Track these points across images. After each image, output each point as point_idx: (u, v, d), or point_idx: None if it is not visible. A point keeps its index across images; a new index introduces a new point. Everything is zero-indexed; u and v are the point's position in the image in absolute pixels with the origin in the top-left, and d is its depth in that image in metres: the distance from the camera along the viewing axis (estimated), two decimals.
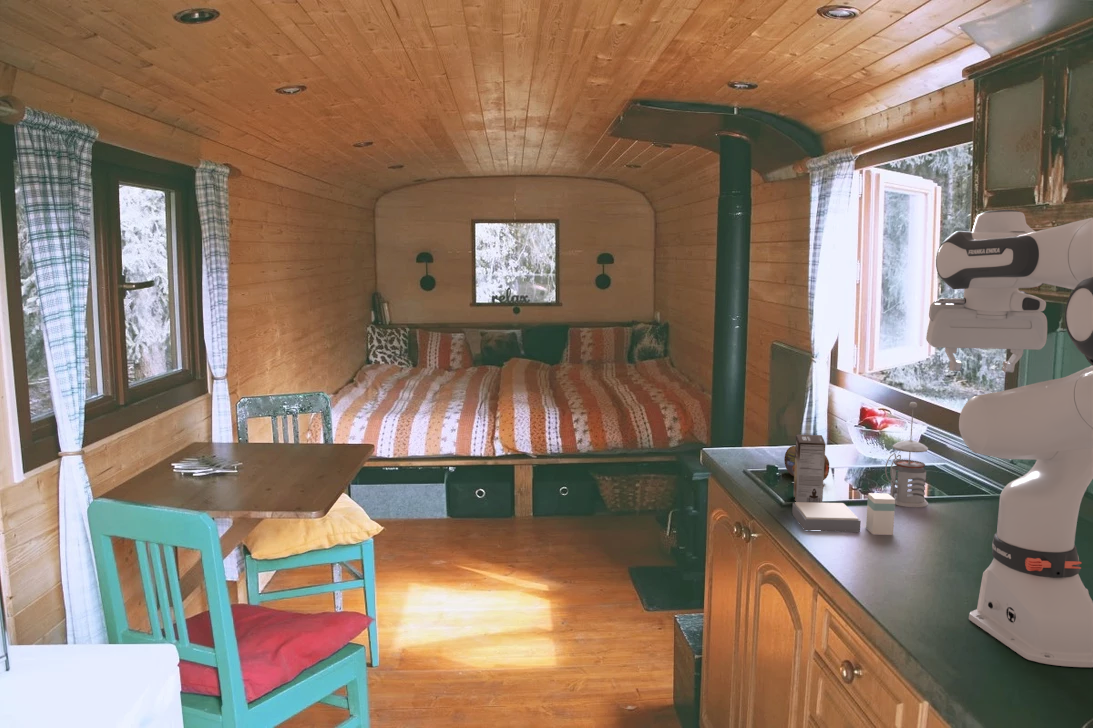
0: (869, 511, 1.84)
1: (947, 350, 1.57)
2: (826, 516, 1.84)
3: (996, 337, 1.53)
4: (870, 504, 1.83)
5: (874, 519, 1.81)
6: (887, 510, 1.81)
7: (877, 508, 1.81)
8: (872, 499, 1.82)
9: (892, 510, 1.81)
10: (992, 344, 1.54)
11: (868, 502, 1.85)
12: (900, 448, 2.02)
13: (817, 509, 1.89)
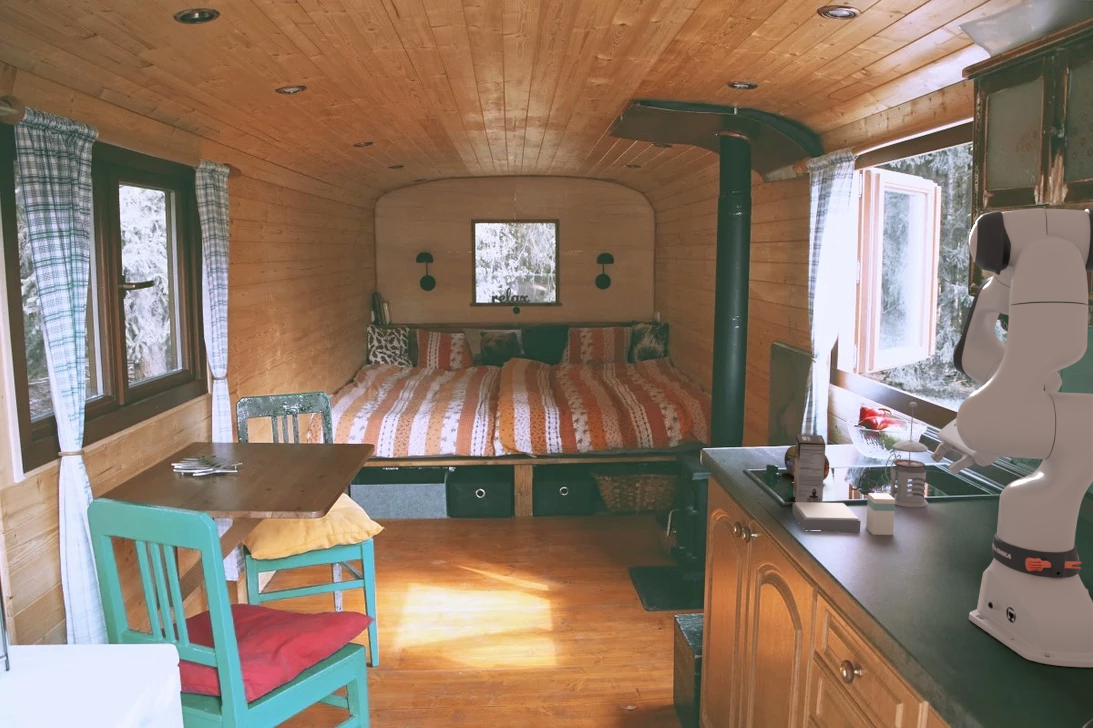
0: (869, 511, 1.84)
1: None
2: (826, 516, 1.84)
3: None
4: (870, 504, 1.83)
5: (874, 519, 1.81)
6: (887, 510, 1.81)
7: (877, 508, 1.81)
8: (872, 499, 1.82)
9: (892, 510, 1.81)
10: (957, 443, 1.79)
11: (868, 502, 1.85)
12: (900, 448, 2.02)
13: (817, 509, 1.89)
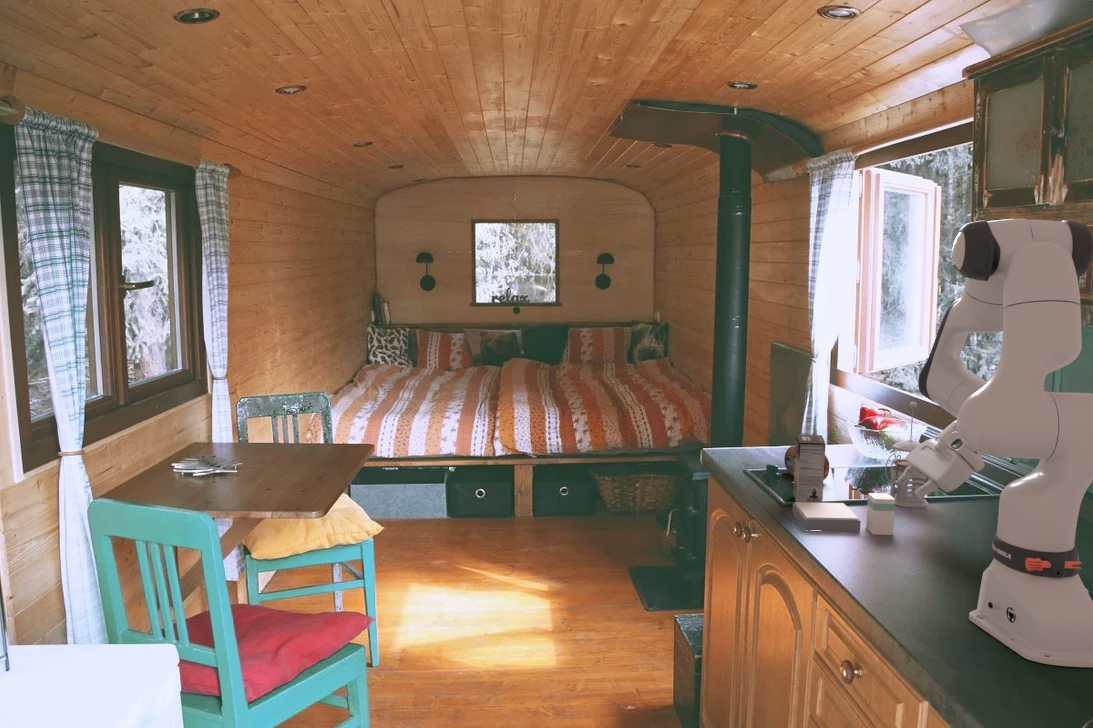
0: (869, 511, 1.84)
1: None
2: (826, 516, 1.84)
3: (929, 463, 1.80)
4: (870, 504, 1.83)
5: (874, 519, 1.81)
6: (887, 510, 1.81)
7: (877, 508, 1.81)
8: (872, 499, 1.82)
9: (892, 510, 1.81)
10: (923, 467, 1.81)
11: (868, 502, 1.85)
12: (900, 448, 2.02)
13: (817, 509, 1.89)
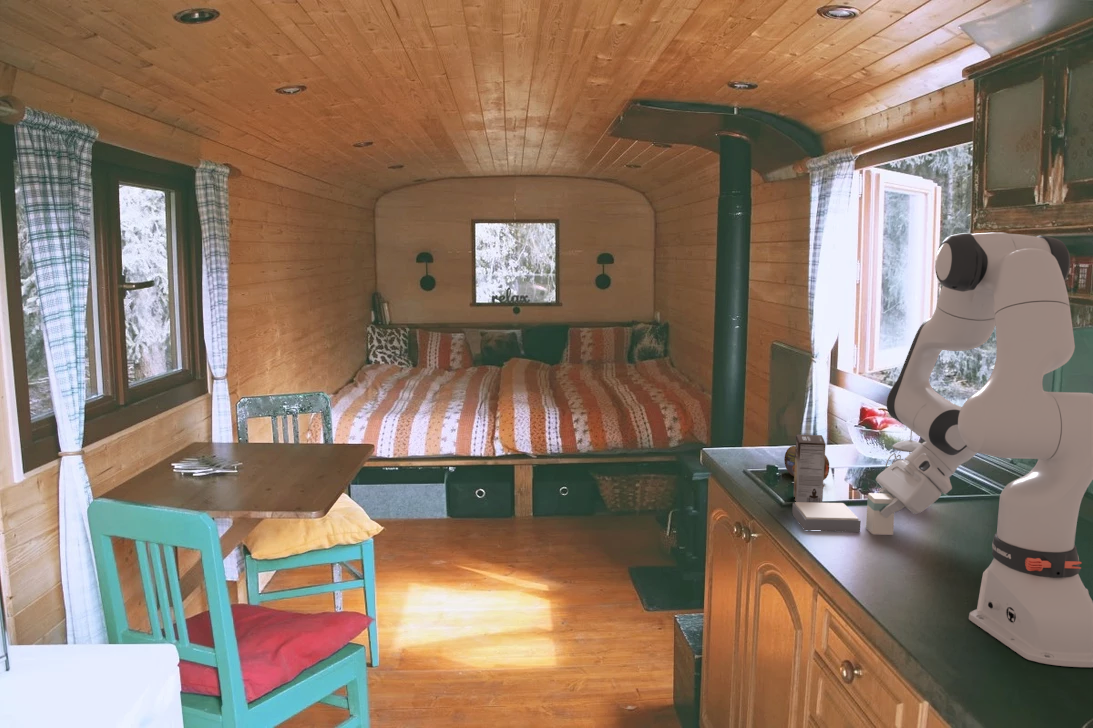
0: (869, 511, 1.84)
1: None
2: (826, 516, 1.84)
3: (898, 485, 1.81)
4: (870, 504, 1.83)
5: (874, 519, 1.81)
6: None
7: (877, 508, 1.81)
8: (872, 499, 1.82)
9: None
10: (892, 488, 1.82)
11: (868, 502, 1.85)
12: (900, 448, 2.02)
13: (817, 509, 1.89)
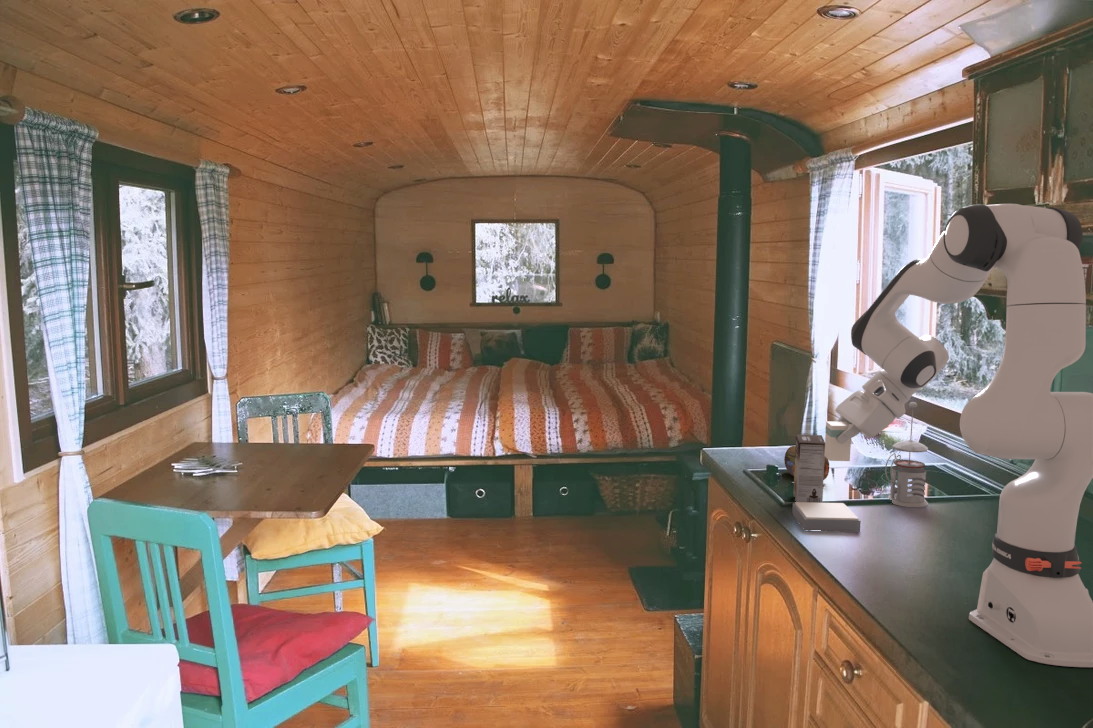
0: (827, 438, 1.87)
1: None
2: (826, 516, 1.84)
3: (854, 412, 1.84)
4: (828, 431, 1.86)
5: (831, 446, 1.84)
6: None
7: (834, 435, 1.84)
8: (829, 426, 1.85)
9: None
10: (849, 416, 1.85)
11: (826, 430, 1.88)
12: (900, 448, 2.02)
13: (817, 509, 1.89)
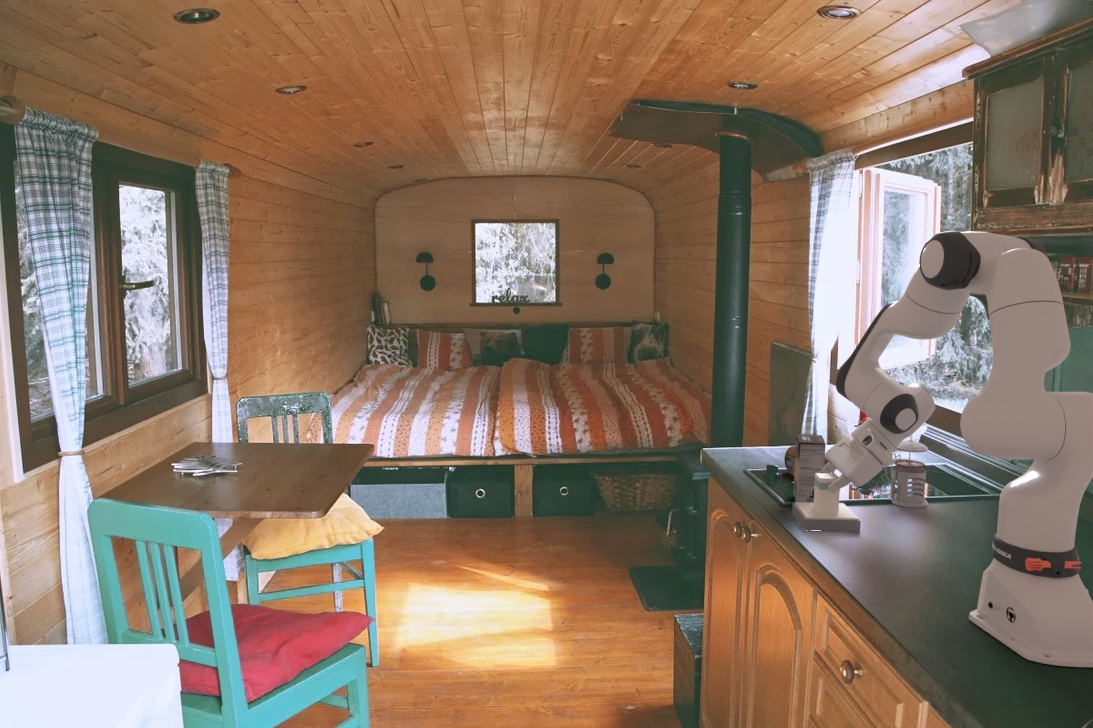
0: (816, 490, 1.89)
1: None
2: (826, 516, 1.84)
3: (843, 460, 1.86)
4: (816, 483, 1.88)
5: (820, 498, 1.86)
6: None
7: (823, 487, 1.86)
8: (818, 478, 1.87)
9: None
10: (838, 463, 1.87)
11: (815, 482, 1.90)
12: (900, 448, 2.02)
13: None
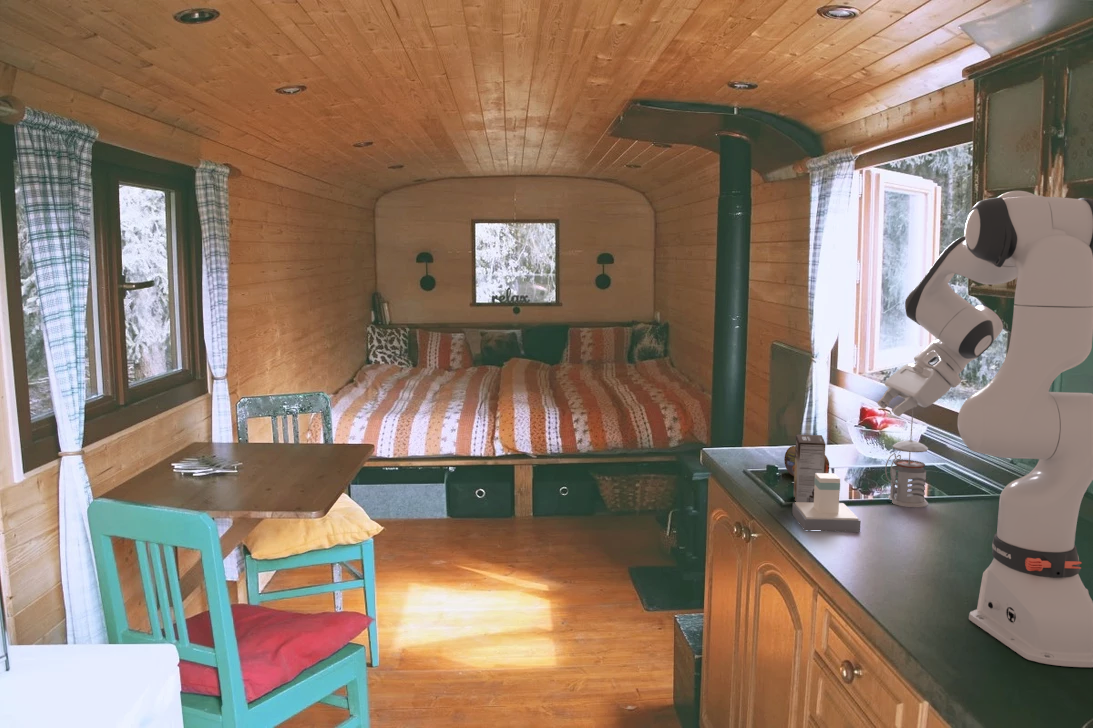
0: (816, 490, 1.89)
1: None
2: (826, 516, 1.84)
3: (907, 383, 1.83)
4: (816, 483, 1.88)
5: (820, 498, 1.86)
6: (833, 489, 1.86)
7: (823, 487, 1.86)
8: (818, 478, 1.87)
9: (837, 489, 1.86)
10: (901, 387, 1.84)
11: (815, 482, 1.90)
12: (900, 448, 2.02)
13: None
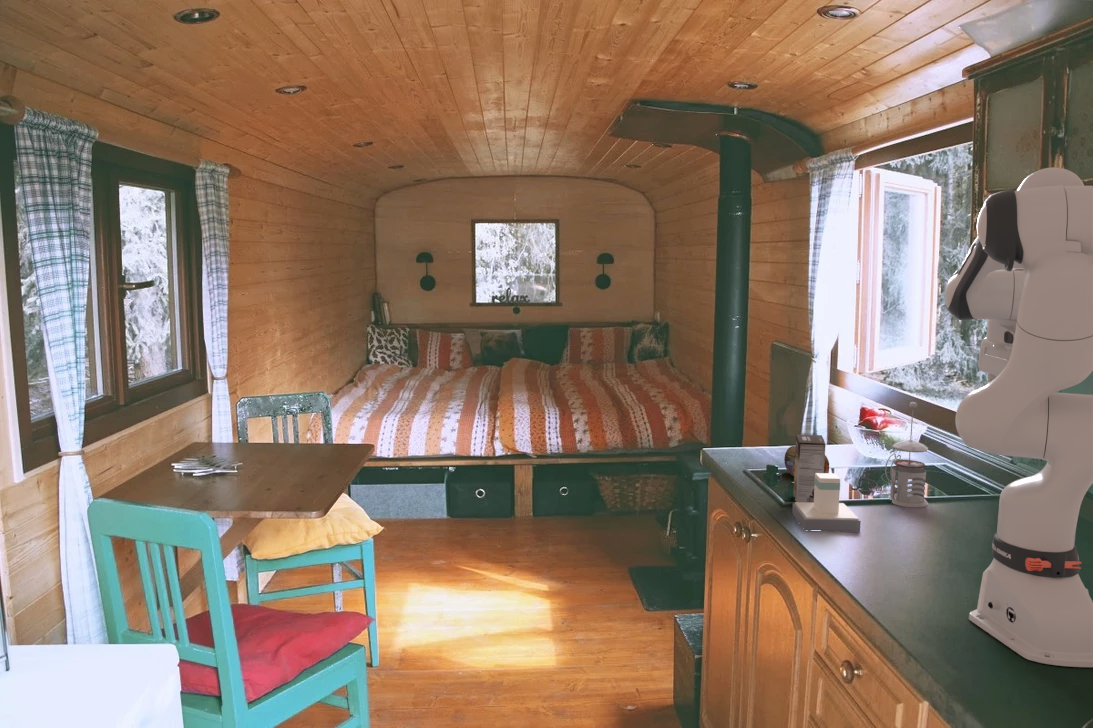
0: (816, 490, 1.89)
1: None
2: (826, 516, 1.84)
3: (1002, 367, 1.69)
4: (816, 483, 1.88)
5: (820, 498, 1.86)
6: (833, 489, 1.86)
7: (823, 487, 1.86)
8: (818, 478, 1.87)
9: (837, 489, 1.86)
10: None
11: (815, 482, 1.90)
12: (900, 448, 2.02)
13: None
